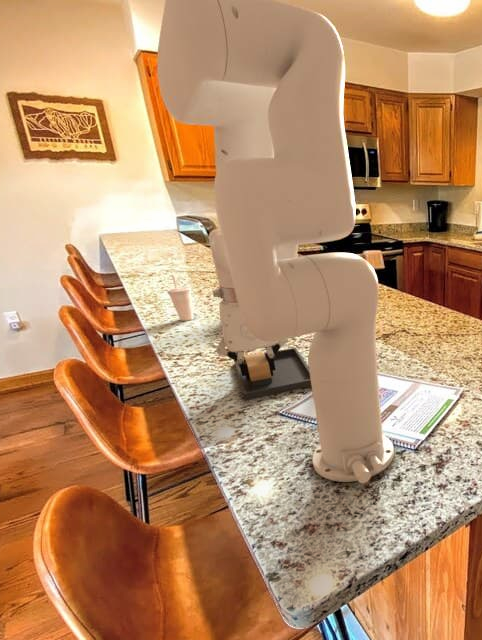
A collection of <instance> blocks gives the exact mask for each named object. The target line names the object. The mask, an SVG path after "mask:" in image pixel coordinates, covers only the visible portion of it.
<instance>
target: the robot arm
mask: <svg viewBox="0 0 482 640" xmlns="http://www.w3.org/2000/svg"><path fill="white" fill-rule="evenodd" d="M163 7H164V8H163V12H162V18H161V19H162V20H161V25H160V31H159V32H160V33H159V38H158V45H157V57H156V58H157V59H156V60H157V61H156V62H157V63H156V70H157V72H156V73H157V82H158V86H159V92H160V95H161V99H162V101H163V104H164V106H165V108H166V110H167V112H168V113H169V115H170V116H171V117H172V118H173V119H174V120H175V121H177V122H179V123H181V124H185V125H191V126H194V125H195V126H207V127H213V139H214V141H213V142H214V154H215V155H214V157H215V158H214V159H215V171H216V174H215V177H214V184H213V199H214V208H215V213H216V219H217V223H218V227H219V228H217V229H213V230H211V231H210V232H209V233H208V242H209V246H210V247H209V248H210V250H211V257H212V259H213V265H214V269H215V272H216V278H217V282H218V285H219V287H218V288H217V289H215V290H212V295H213V298H220V299H222V300H221V301H220V302H219V305H218V307H219V309H218V310H219V317H220V319H219V321H220V325H221V326H220V327H221V331H222V337H221V338H220V341H219V342H218V344H217V346H216V348H215V350H216V353H217V354H218V355H220V356H224V357H227V358H229V359H231V360H233V361H234V360H235V361H236V362H238V363H239V365H240V369H241V373H242V376H246V379H247V381H248V380H250V376H249V371H248V367H247V362H246V360H245V358H244V356H245V352H246V351H252V350H259V349H263V348H264V349H265V351H266V352H265V353H266V356H265V357H266V359H267V361H268V364H269V368H270V373H271V376H273V370H275V364H274V359H273V358H274V357H275V354H276V353H277V352H278V351H279V350H280V349H281V348H282V347H283V346H285V345H286V344H287V343H288V342H289V339H293V338H298V337H301V336H302V337H303V336H305V335H310V334H314V335H313V337H312V340H311V343H310V346H309V349H308V354H307V366H308V367H309V373H310V379H311V386H312V387H311V393H312V398H313V405H314V412H315V417H316V424H317V425H316V426H317V431H318V437H319V445H318V446H317V447H316V448H315V449H314V451H313V453H312V457H311V459H312V460H311V461H312V466H313V469H314V471H315V472H316V473H317V474H318V475H319V476H320V477H322V478H324V479H327V480H330V481H334V482H340V483H341V482H342V483H350V482H358V483H360V484H365V483H368V482H369V481H370V480H371V478H372V477H375V476H376V475H378V474H380V473H381V472H383V471H384V470H386V469H387V468H388V467H389V465H391V463H392V461H393V460H394V457H395V448H394V444H393V442H392V440H390V439H389V438H388V437H387V436H386V435H383V433H384V432H383V422H382V411H381V398H380V386H379V376H378V375H379V373H378V372H379V371H378V357H377V339H376V337H377V335H376V331H377V330H376V329H377V315H378V308H379V298H380V288H379V287H380V286H379V285H380V284H379V280H378V276H377V273H376V271H375V268H374V267H373V266H372V265H371V263H370V262H369V261H367V259H365V258H364V257H362V256H361V255H358V254H355V253H351V252H342V251H341V252H339V251H338V252H337V251H336V252H335V251H334V252H325V253H315V254H307V255H301V256H298V251H299V246H302V245H303V246H304V245H311V244H320V243H328V242H335V241H339V240H342V239H344V238H346V237H348V236H349V235H350V234H351V233H352V232H353V230H354V228H355V224H356V216H357V215H356V201H355V192H354V184H353V177H352V170H351V164H350V163H351V162H350V158H349V157H350V156H349V149H348V141H347V135H346V130H345V119H344V99H345V98H344V97H345V87H346V86H345V85H346V84H345V83H346V61H345V54H344V53H345V52H344V49H343V48H344V47H343V44H342V40H341V38H340V36H339V33H338V31H337V30H336V27H335V26H334V25H333V23H332V22H331V21H330V20H329V19H328V18H327V17H325V16H324V15H323V14H321V13H319V12H317V11H314V10H312V9H307V8H305V7H302V6H299V5H295V4H292V3H288V2H284V1H281V0H165V2H164V6H163Z"/></svg>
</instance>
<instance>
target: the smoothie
mask: <svg viewBox="0 0 482 640" xmlns="http://www.w3.org/2000/svg"><path fill="white" fill-rule="evenodd" d="M171 277H172V280H173V285H174V287H171V288H168V289H167V290H166V292H167V294H168V295H169V297H170V299H171V302H172V304H173V306H174V309H175V311H176V313H177V316H178V319H179V320H180V321H183V322H186V321H191V320H194V319H195V318H194V310H193V302H192V294H191V292H192V289H191V287H189V286H178V284H177V281H176V280H177V279H176V277H175V274H172V275H171Z"/></svg>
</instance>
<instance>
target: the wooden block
mask: <svg viewBox="0 0 482 640" xmlns="http://www.w3.org/2000/svg"><path fill="white" fill-rule="evenodd" d="M264 353H265V352H260V353H255V354H248V355H244V357H245V360H246V362H247V367H248V371H249V376H250V381H251V384H252V387H253V386H258V385H263V384H268V383H272V379H271V373H270V368H269V364H268V361H267V359H266V357H265V354H264Z"/></svg>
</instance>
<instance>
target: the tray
mask: <svg viewBox="0 0 482 640" xmlns="http://www.w3.org/2000/svg"><path fill="white" fill-rule="evenodd" d="M263 353H264V354H265V356H266V353H267V352H263ZM244 358H245V357H244ZM273 359H274V364H275V370H273V376H271V379H272V383H268V384H263V385H258V386H253V387H252V384H251V381H250V380H248V381H247V379H246V376H242V373H241V369H240V365H239V363H238V362H236V361H235V360H233V362H234V367H235V370H236V373H237V377H238V382H239V386H240V389H241V392H242V396H243V400H244V402H247V401H251V400H256V399H260V398H265V397H271V396H274V395H279V394H283V393H288V392H293V391H298V390H303V389H308V388H312V386H311V379H310V373H309V366H308V363H306V361H305V360H304V358H303V355H301V353H300V352H299V350H298V349H297V348H296V347H292V348H287V349H281V350H280V349H279V350H278V352H277V353H276V354H275V357H274V358H273Z"/></svg>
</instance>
